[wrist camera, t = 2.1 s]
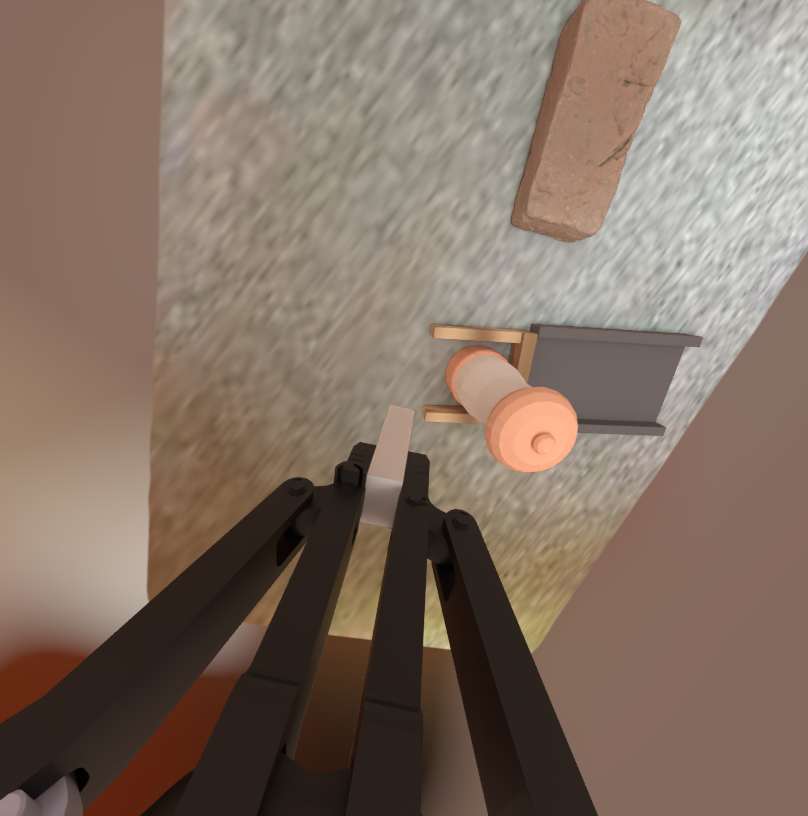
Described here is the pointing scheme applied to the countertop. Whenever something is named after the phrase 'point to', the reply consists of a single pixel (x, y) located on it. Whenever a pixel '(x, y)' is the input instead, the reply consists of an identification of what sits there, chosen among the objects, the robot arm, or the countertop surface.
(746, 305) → the countertop surface
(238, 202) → the countertop surface
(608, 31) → the brick
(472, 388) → the salt shaker
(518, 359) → the oak cradle
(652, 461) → the countertop surface
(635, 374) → the grey tray
